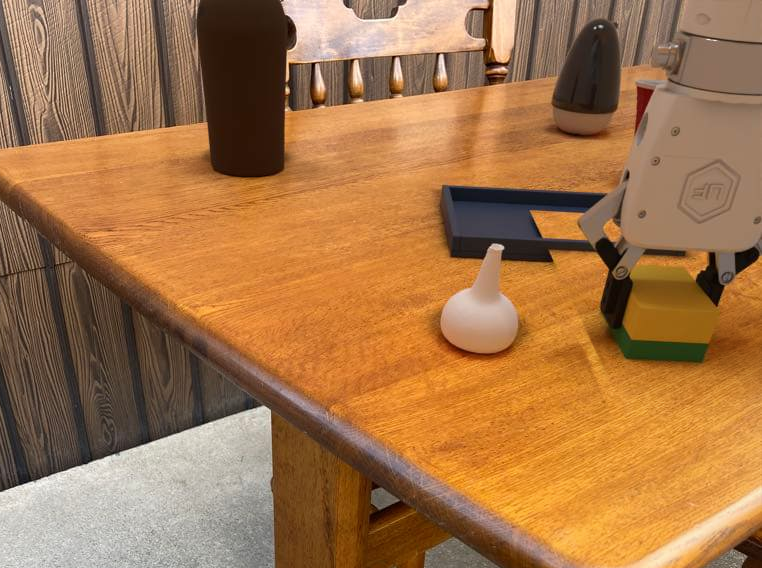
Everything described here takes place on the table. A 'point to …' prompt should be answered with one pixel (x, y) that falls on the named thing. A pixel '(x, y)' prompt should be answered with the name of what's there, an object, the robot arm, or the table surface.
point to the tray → (512, 221)
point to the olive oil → (244, 83)
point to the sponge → (666, 316)
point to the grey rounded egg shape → (589, 80)
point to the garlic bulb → (481, 311)
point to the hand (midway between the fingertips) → (652, 322)
